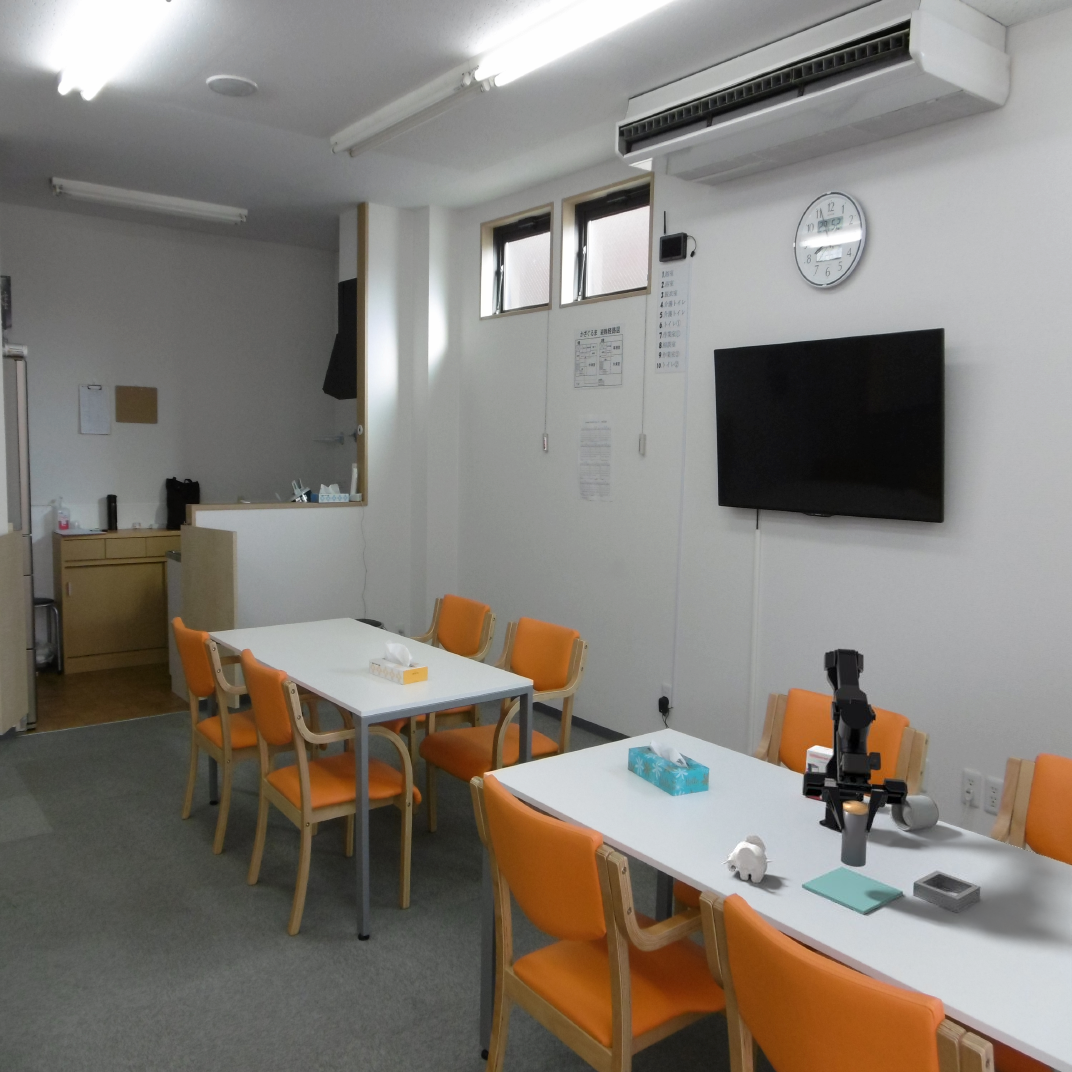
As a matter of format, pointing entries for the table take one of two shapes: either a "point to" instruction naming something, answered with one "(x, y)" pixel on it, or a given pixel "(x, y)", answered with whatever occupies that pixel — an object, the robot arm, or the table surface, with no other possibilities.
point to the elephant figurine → (749, 859)
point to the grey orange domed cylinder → (854, 833)
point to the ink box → (818, 760)
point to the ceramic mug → (915, 813)
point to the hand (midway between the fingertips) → (855, 830)
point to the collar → (928, 892)
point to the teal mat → (852, 890)
